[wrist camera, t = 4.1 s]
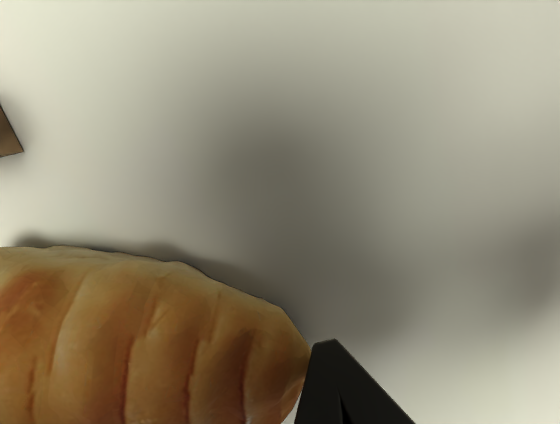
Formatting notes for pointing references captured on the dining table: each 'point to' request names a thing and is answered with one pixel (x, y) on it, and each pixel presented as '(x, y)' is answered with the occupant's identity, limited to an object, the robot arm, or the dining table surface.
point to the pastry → (138, 343)
